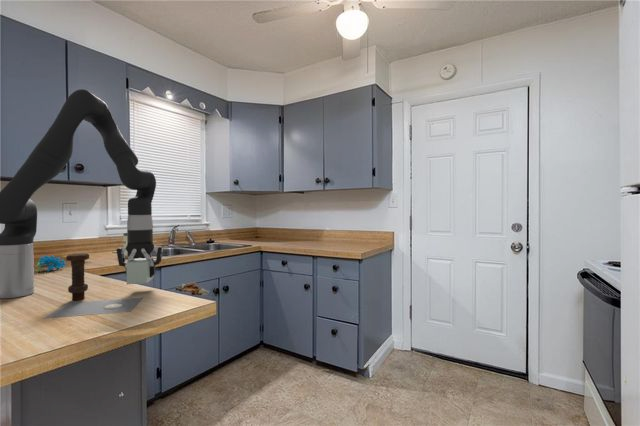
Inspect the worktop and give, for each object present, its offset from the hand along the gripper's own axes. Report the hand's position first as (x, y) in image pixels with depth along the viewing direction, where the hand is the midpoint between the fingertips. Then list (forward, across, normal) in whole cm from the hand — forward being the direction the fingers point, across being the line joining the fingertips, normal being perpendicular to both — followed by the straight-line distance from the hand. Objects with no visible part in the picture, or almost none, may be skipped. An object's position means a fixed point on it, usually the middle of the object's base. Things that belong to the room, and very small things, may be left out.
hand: (140, 277), depth 107 cm
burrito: (+7, +16, -2) cm, 18 cm away
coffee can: (+6, -26, +93) cm, 96 cm away
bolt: (+6, -16, -5) cm, 18 cm away
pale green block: (+1, 0, 0) cm, 1 cm away
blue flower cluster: (+6, -51, +56) cm, 76 cm away
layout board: (+6, -7, -15) cm, 18 cm away
